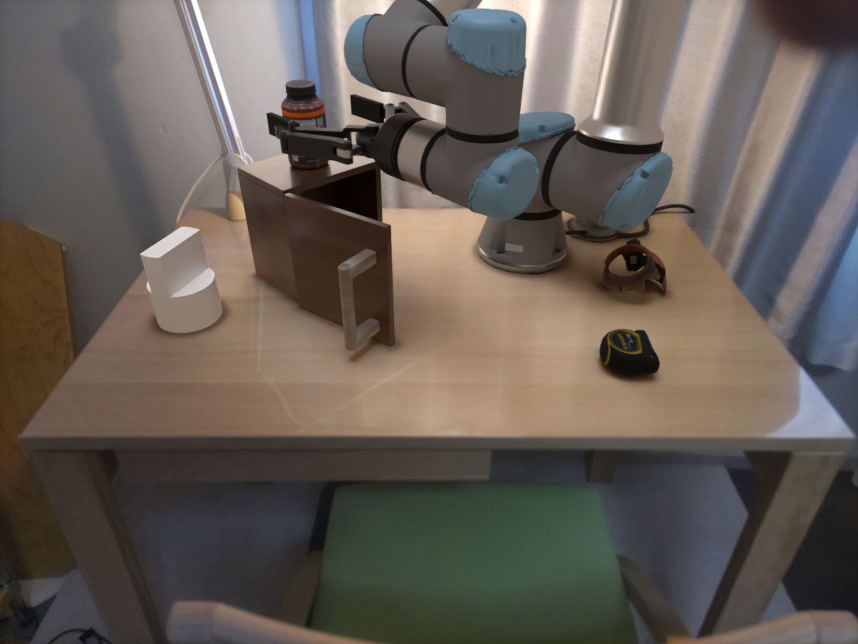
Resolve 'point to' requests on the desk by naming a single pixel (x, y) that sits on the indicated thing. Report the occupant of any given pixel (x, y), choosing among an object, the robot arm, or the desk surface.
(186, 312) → the base with upright slab
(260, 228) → the cabinet
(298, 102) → the supplement bottle
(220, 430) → the desk surface
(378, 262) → the cabinet door
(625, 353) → the tape measure
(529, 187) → the robot arm
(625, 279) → the brown hollow curved shell
